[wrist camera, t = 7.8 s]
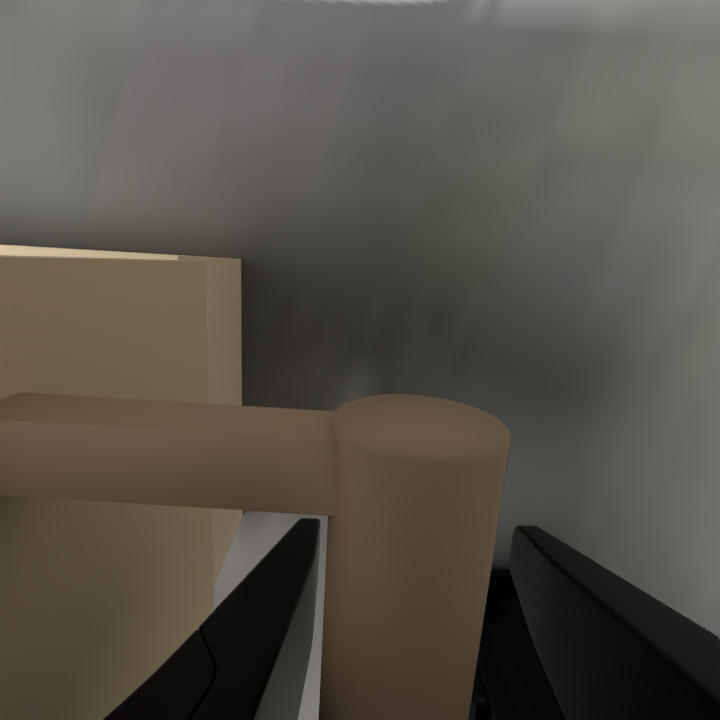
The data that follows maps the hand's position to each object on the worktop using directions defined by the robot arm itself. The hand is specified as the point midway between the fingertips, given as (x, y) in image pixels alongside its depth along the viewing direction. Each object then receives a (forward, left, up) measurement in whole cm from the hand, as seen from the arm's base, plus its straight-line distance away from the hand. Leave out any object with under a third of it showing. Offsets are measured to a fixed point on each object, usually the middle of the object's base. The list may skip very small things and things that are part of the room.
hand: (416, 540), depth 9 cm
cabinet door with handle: (+6, 0, +1) cm, 6 cm away
